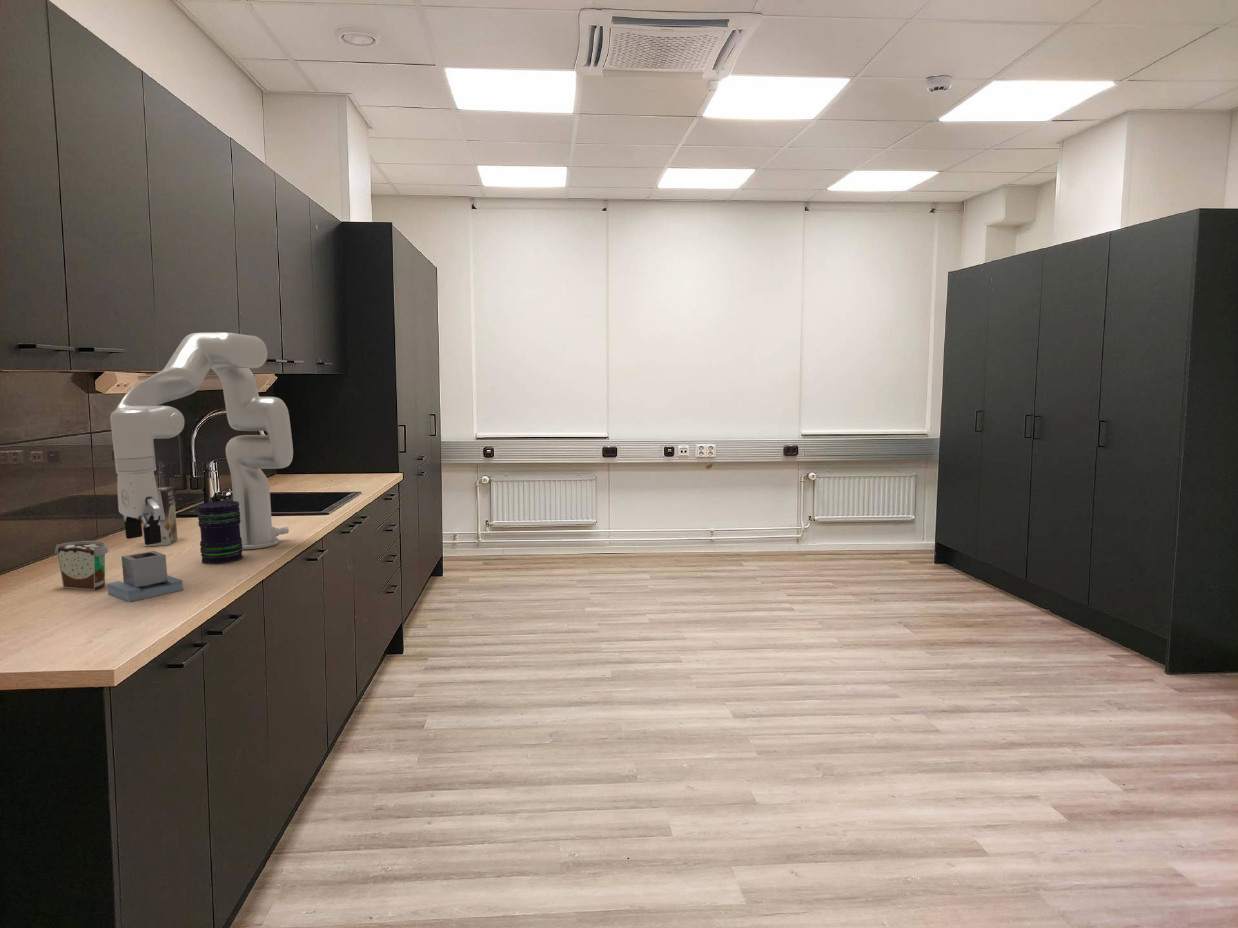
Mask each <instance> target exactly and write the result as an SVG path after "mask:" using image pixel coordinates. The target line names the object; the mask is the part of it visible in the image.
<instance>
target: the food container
mask: <svg viewBox="0 0 1238 928" xmlns="http://www.w3.org/2000/svg"><path fill="white" fill-rule="evenodd" d="M55 546H56V547H55V549H54V550H55V551H54V554H57V558H58V564H59V571H60V576H61V582H62V583H61V584H62V588H64V589H74V590H75V589H76V590H84V591H85V590H86V591H97V590H100V589H102V588H104V587H105V586H106V581H105V580H106V579H105V578H106V572H105V571H106V554H108V552H109V548H108V547H107V545H106V543H105V542H104V541H100V540H82V541H72V542H65V543H61V544H56V545H55Z"/></svg>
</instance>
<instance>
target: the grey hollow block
mask: <svg viewBox="0 0 1238 928" xmlns="http://www.w3.org/2000/svg"><path fill="white" fill-rule="evenodd" d="M121 567H122V576H123V577H122V578H123V583H126V584H128V585H130V586H133V587H140V586H145V585H150V584H155V583H160V582H165V581H168V578H167V575H168V571H167V570H168V569H167V567H168V566H167V555H166V554H164V553H161V552H158V551H157V550H152V551H151V550H150V551H144V552H139V553H134V554H133V553H132V554H127V555H122V556H121Z"/></svg>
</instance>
